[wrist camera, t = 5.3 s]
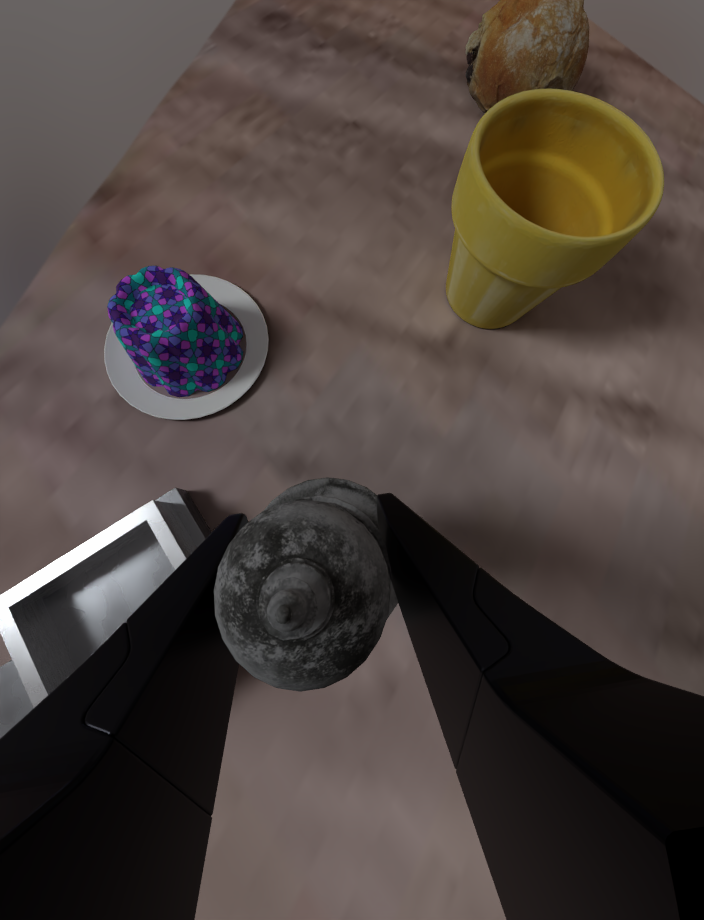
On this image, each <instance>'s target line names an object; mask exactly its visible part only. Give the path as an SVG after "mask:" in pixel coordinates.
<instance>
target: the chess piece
mask: <svg viewBox="0 0 704 920" xmlns="http://www.w3.org/2000/svg"><path fill="white" fill-rule="evenodd" d="M376 497H377V495H376V494H375V493H373V492H372V491H371V490H369V489H368V488H367V487H364V486H362V485H359V484H357V483H354V482H352V481H349V480H344V479H336V478H321V479H313V480H307V481H305V482H302V483H300V484H298V485H295V486H293V487H290V488H288V489H287V490H286V491H284V492H283V493H282V494H280V495H279V496H278V497H276V498H275V499H274V500H272V501H271V503H270V504H269V505H268V506H267V508H266V509H265V510H264V511H263V512H261V513H260V514H259V515H257V516H256V517H255V518H253V519H252V520H251V521H249V522H248V523H247V524H245V525H244V526H243V527H242V528H241V530H240V531H239V532H238V533H237V535H236V536H235V537H234V538H233V540H232V541H231V542H230V543H229V545H228V547H227V549H226V551H225V553H224V556H223V558H222V560H221V562H220V564H219V567H218V572H217V577H216V582H215V587H214V603H215V617H216V620H217V623H218V626H219V629H220V633H221V636H222V639H223V641H224V642H225V644H226V646H227V647H228V649H229V650H230V652H231V654H232V655H233V657H234V658H235V660H236V661H237V662H238V663H239V664H240V665H241V666H242V667H244V668H245V669H246V670H247V671H248V672H249V673H250V674H251V675H252V676H253V677H255V678H257V679H259V680H261V681H263V682H265V683H267V684H269V685H272V686H274V687H276V688H281V689H288V690H294V691H307V690H313V689H320V688H325V687H327V686H329V685H331V684H334V683H336V682H338V681H340V680H342V679H344V678H346V677H348V676H349V675H350V674H351V673H352V672H353V671H354V670H355V669H357V668H358V667H359V666H360V665H361V664H362V663H363V662H365V661H366V659H367V658H368V656H369V654H370V653H371V651H372V650H373V648H374V647H375V645H376V644H377V642H378V641H379V639H380V637H381V634H382V631H383V628H384V625H385V622H386V620H387V618H388V617H389V616H390V614H391V613H392V611H393V610H394V608H395V607H396V605H397V604H398V600H397V597H396V594H395V591H394V588H393V585H392V582H391V567H390V562H389V558H388V553H387V548H386V544H385V542H384V539H383V537H382V535H381V532H380V530H379V526H378V519H377V501H376Z"/></svg>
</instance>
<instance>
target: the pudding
mask: <svg viewBox="0 0 704 920" xmlns="http://www.w3.org/2000/svg"><path fill="white" fill-rule="evenodd" d="M116 292H117V293H116V294H115V295H114V296H112V297H111V298H110V300H109V303H108V306H107V307H108V314H109V318H110V320H111V322H112V323H111V326H110V328H109V331H108V333H107V337H106V342H105V347H104V360H105V365H106V370H107V374H108V376H109V378H110V380H111V383H112V385H113V386H114V388H115V389H116V390H117V392H118V393H119V395H120V396H121V397H122V398H124V399H125V400H126V401H127V402H128V403H129V404H130V405H132V406H133V407H135V408H137V409H138V410H140V411H142V412H144V413H147V414H150V415H152V416H155V417H160V418H165V419H174V420H186V419H193V418H200V417H203V416H206V415H210V414H213V413H215V412H217V411H220V410H222V409H224V408H226V407H228V406H229V405H231V404H232V403H233V402H235V401H236V400H238V399H239V398H240V397H241V396H242V395H243V394H244V393H245V392H246V391H247V390H248V389H249V388H250V387H251V386H252V385H253V383H254V382H255V380H256V379H257V378H258V376H259V374H260V372H261V370H262V368H263V366H264V363H265V360H266V356H267V352H268V341H269V338H268V330H267V325H266V322H265V319H264V316H263V314H262V312H261V310H260V309H259V307H258V305H257V304H256V303H255V302H254V300H253V299H252V298H251V297H250V296H249V295H248V294H247V293H246V292H244V291H243V290H242V289H241V288H239V287H237V286H236V285H234V284H232V283H230V282H228V281H225V280H223V279H220V278H217V277H212V276H207V275H189V274H187V273H186V272H185V271H183V270H181V269H177V268H173V267H172V268H167V269H162V268H160V267H159V266H148V267H145V268H142V269H140V271H139V272H138V273H137V274H136V275H129V276H126V277H125V278H123V279H122V280H121V281H120V282H119V283H118V285H117V286H116ZM220 304H221V305H223V306H224V307H226V308H228V309H229V310H230V311H231V312H232V313H234V315H235V316H236V317H237V318H238V319H239V321H240V323H241V324H242V326H243V329H244V332H245V335H246V343H247V345H246V354H245V357H244V361H243V363H242V365H241V367H240V369H239V371H238V372H237V373H236V375H235V376H234V377H233V378H232V379H231V380H230V381H229V382H228V383H227V384H226V385H225V386H223V387H222V388H220V389H219V390H217V391H215V392H213V393H211V394H209V395H206V396H203V397H199V398H193V399H176V398H171V397H167V396H164V395H162V394H159V393H157V392H156V391H154V390H152V389H151V388H150V387H149V386H147V385H146V384H145V383H144V382H143V380H142V379H141V378H140V376H139V375H138V372H137V370H136V368H135V366H136V367H137V369H138V371H139V372H140V374H141V375H142V377H143V378H144V380H145V381H146V382H147V383H149V384H150V385H152V386H164V387H165V389H166V390H167V391H168V393H169V394H170V395H174V396H177V397H185V396H189V395H191V394H192V393H194V392H195V391H196V390H201V391H206V392H209V391H212V390H215V389H217V388H218V387H220V386H221V385H222V384H223V383H224V382H225V378H226V374H227V372H230V371H232V370H234V369H237V367H238V366H239V364H240V363H241V361H242V357H243V351H242V349H241V348H240V346H239V342H240V340H241V339H242V337H243V332H242V327H241V326H240V325H239V323H238V322H237V321H236V320H235V319H234V318H233V317H232V316H231V315H230V314H229V313H228V312H227V311H226V310H225V309H224V308H223V307H222V306H221V305H220ZM134 364H135V365H134Z"/></svg>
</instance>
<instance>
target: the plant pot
mask: <svg viewBox="0 0 704 920" xmlns="http://www.w3.org/2000/svg"><path fill="white" fill-rule="evenodd" d="M663 189H664V173H663V168H662V163H661V160H660V158H659V155H658V153H657V151H656V149H655V147H654V145H653V144H652V142H651V140H650V139H649V137H648V136H647V135H646V133H645V132H644V131H643V130H642V129H641V128H640V127H639V126H638V125H637V124H636V123H635V122H634V121H633V120H632V119H631V118H629V117H628V116H627V115H625V114H624V113H623V112H621V111H620V110H618V109H617V108H615V107H613V106H612V105H610V104H608V103H606V102H604V101H602V100H600V99H597V98H594V97H592V96H589V95H586V94H582V93H578V92H574V91H569V90H561V89H535V90H528V91H523V92H520V93H517V94H514V95H511V96H509V97H507V98H505V99H503V100H501V101H500V102H498V103H496V104H495V105H494V106H493V107H491V108H490V109H489V110H488V111H487V112H486V113H485V114H484V116H483V117H482V118H481V119H480V121H479V123H478V124H477V126H476V128H475V130H474V132H473V134H472V137H471V139H470V142H469V145H468V148H467V150H466V153H465V156H464V159H463V162H462V165H461V169H460V172H459V175H458V178H457V182H456V185H455V189H454V193H453V197H452V218H453V222H454V226H455V234H454V240H453V246H452V251H451V257H450V263H449V269H448V275H447V281H446V295H447V299H448V302H449V304H450V306H451V307H452V309H453V310H454V312H455V313H456V314H457V315H458V316H459V317H460V318H461V319H463V320H464V321H466V322H467V323H469V324H471V325H473V326H476V327H479V328H485V329H496V328H501V327H505V326H508V325H510V324H512V323H513V322H515V321H516V320H518V319H519V318H520V317H522V316H523V315H524V314H526V313H527V312H528V311H530V310H531V309H532V308H534V307H535V306H537V305H538V304H539V303H541V302H542V301H543V300H545V299H546V298H548V297H549V296H550V295H552V294H553V293H555V292H556V291H557V290H559V289H560V288H561V287H566V286H569V285H573V284H576V283H578V282H580V281H583V280H585V279H586V278H588V277H590V276H591V275H593V274H594V273H595V272H597V271H598V270H599V269H600V268H602V267H603V266H604V265H605V264H606V263H607V262H608V261H609V260H610V259H611V258H613V257H614V256H615V255H616V254H617V253H618V252H619V251H620V250H621V249H622V248H623V247H624V246H625V245H626V244H627V243H628V242H629V241H630V240H631V239H632V238H633V237H634V236H635V235H636V234H637V233H638V232H639V231H640V230H641V229H642V228H643V227H644V226H645V225H646V224H647V223H648V222H649V221H650V219H651V218H652V216H653V215H654V214H655V212H656V210H657V208H658V206H659V204H660V201H661V199H662V195H663Z"/></svg>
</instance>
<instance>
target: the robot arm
mask: <svg viewBox="0 0 704 920" xmlns="http://www.w3.org/2000/svg"><path fill="white" fill-rule="evenodd" d="M376 501H377V519H378V526H379V530H380V532H381V535H382V537H383V539H384V542H385V544H386V548H387V553H388V558H389V562H390V567H391V582H392V585H393V588H394V591H395V594H396V597H397V600H398V603H399V606H400V609H401V612H402V615H403V618H404V621H405V623H406V626H407V629H408V632H409V635H410V638H411V641H412V644H413V647H414V650H415V653H416V656H417V659H418V662H419V664H420V667H421V670H422V673H423V676H424V679H425V682H426V685H427V688H428V691H429V694H430V697H431V700H432V703H433V705H434V708H435V711H436V714H437V717H438V720H439V723H440V726H441V729H442V732H443V735H444V738H445V741H446V744H447V746H448V749H449V752H450V755H451V758H452V761H453V764H454V767H455V769H457V770H456V773H457V776H458V779H459V782H460V785H461V788H462V791H463V794H464V797H465V799H466V802H467V805H468V808H469V811H470V814H471V817H472V820H473V823H474V826H475V829H476V832H477V835H478V838H479V840H480V843H481V846H482V849H483V852H484V855H485V858H486V861H487V864H488V867H489V870H490V873H491V876H492V878H493V881H494V884H495V887H496V890H497V893H498V896H499V899H500V902H501V905H502V908H503V911H504V914H505V917H506V919H507V920H704V696H701V695H698V694H695V693H691V692H688V691H685V690H682V689H679V688H676V687H672V686H669V685H666V684H663V683H660V682H657V681H653V680H650V679H647V678H645V677H642V676H640V675H638V674H635V673H633V672H631V671H629V670H627V669H625V668H623V667H621V666H619V665H617V664H616V663H614V662H612V661H610V660H609V659H607V658H605V657H604V656H602V655H601V654H599V653H598V652H596V651H595V650H593V649H592V648H590V647H589V646H588V645H586V644H585V643H583V642H582V641H580V640H579V639H577V638H576V637H574V636H573V635H572V634H570V633H569V632H567V631H566V630H564V629H563V628H561V627H560V626H559V625H557V624H556V623H554V622H553V621H551V620H550V619H548V618H547V617H546V616H544V615H543V614H541V613H540V612H538V611H537V610H535V609H534V608H533V607H531V606H530V605H528V604H527V603H526V602H524V601H523V600H522V599H520V598H519V597H517V596H516V595H515V594H513V593H512V592H511V591H509V590H508V589H507V588H506V587H504V586H503V585H502V584H501V583H499V582H498V581H497V580H495V579H494V578H493V577H492V576H491V575H489V574H488V573H487V572H486V571H485V570H483V569H482V568H479V566H478V565H477V564H476V563H475V562H474V561H472V560H471V559H470V558H469V557H468V556H466V555H465V554H464V553H463V552H462V551H460V550H459V549H458V548H457V547H456V546H454V545H453V544H452V543H451V542H450V541H448V540H447V539H446V538H445V537H444V536H442V535H441V534H440V533H439V532H438V531H436V530H435V529H434V528H433V527H432V526H430V525H429V524H428V523H427V522H426V521H424V520H423V519H422V518H421V517H420V516H418V515H417V514H416V513H415V512H414V511H412V510H411V509H410V508H409V507H408V506H406V505H405V504H404V503H403V502H402V501H400V500H399V499H398V498H397V497H396V496H394V495H393V494H392V493H385V494H379V495H377V497H376ZM247 523H248V520H247V517H246V515H245V514H243V513H241V514H233V515H229V516H228V517H227V518H226V519H225V520H224V521H223V522H222V523H221V524H220V525H219V526H218V527H217V528H216V529H215V530H214V531H213V532H212V533H211V534H210V535H209V536H208V537H207V538H206V539H205V540H204V541H203V542H202V543H201V544H200V545H199V546H198V547H197V548H196V549H195V550H194V551H193V552H192V553H191V554H190V555H189V556H188V557H187V558H186V559H185V560H184V561H183V563H182V564H181V565H180V566H179V567H178V568H177V569H176V570H175V571H174V572H173V573H172V574H171V575H170V576H169V577H168V578H167V579H166V580H165V581H164V582H163V583H162V584H161V585H160V586H159V587H158V588H157V589H156V590H155V591H154V592H153V593H152V594H151V595H150V596H149V597H148V598H147V599H146V600H145V601H144V602H143V603H142V604H141V605H140V606H139V607H138V608H137V610H136V611H135V612H134V613H133V614H132V615H131V616H130V617H129V618H128V619H127V621H126V622H127V623H123V624H122V625H121V626H120V627H119V628H118V629H117V630H116V631H115V632H114V633H113V634H112V635H111V636H110V637H109V638H108V639H107V640H106V641H105V642H104V643H103V644H102V645H101V646H100V647H99V648H98V649H97V650H96V651H95V652H94V653H93V654H92V655H91V656H90V657H89V658H88V659H87V660H86V661H85V662H84V663H82V664H81V665H80V666H79V667H78V668H77V669H76V670H75V671H74V672H73V673H72V674H71V675H70V676H68V677H67V678H66V679H65V680H64V681H63V682H62V683H61V684H60V685H59V686H58V687H57V688H56V689H54V690H53V691H52V692H51V693H50V694H49V695H48V696H47V697H46V698H45V699H43V700H42V701H41V702H40V703H39V704H38V705H37V706H36V707H35V708H33V709H32V710H31V711H30V712H29V713H28V714H27V715H26V716H25V717H24V718H22V719H21V720H20V721H19V722H18V723H17V724H16V725H15V726H14V727H12V728H11V729H10V730H9V731H8V732H7V733H6V734H5V735H4V736H3V737H1V738H0V920H194V919H195V913H196V907H197V902H198V896H199V890H200V884H201V879H202V873H203V867H204V861H205V856H206V850H207V844H208V839H209V833H210V827H211V821H212V817H211V815H212V814H213V809H214V803H215V797H216V792H217V786H218V780H219V774H220V769H221V763H222V757H223V751H224V746H225V740H226V734H227V729H228V723H229V717H230V711H231V706H232V700H233V694H234V689H235V683H236V677H237V671H238V666H239V663H238V662H237V661H236V660H235V658H234V657H233V655H232V654H231V652H230V650H229V649H228V647H227V646H226V644H225V642H224V641H223V639H222V636H221V633H220V629H219V626H218V623H217V620H216V617H215V603H214V587H215V582H216V577H217V572H218V567H219V564H220V562H221V560H222V558H223V556H224V553H225V551H226V549H227V547H228V545H229V543H230V542H231V541H232V540H233V538H234V537H235V536H236V535H237V533H238V532H239V531H240V530H241V528H242V527H243V526H244V525H245V524H247Z"/></svg>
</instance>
